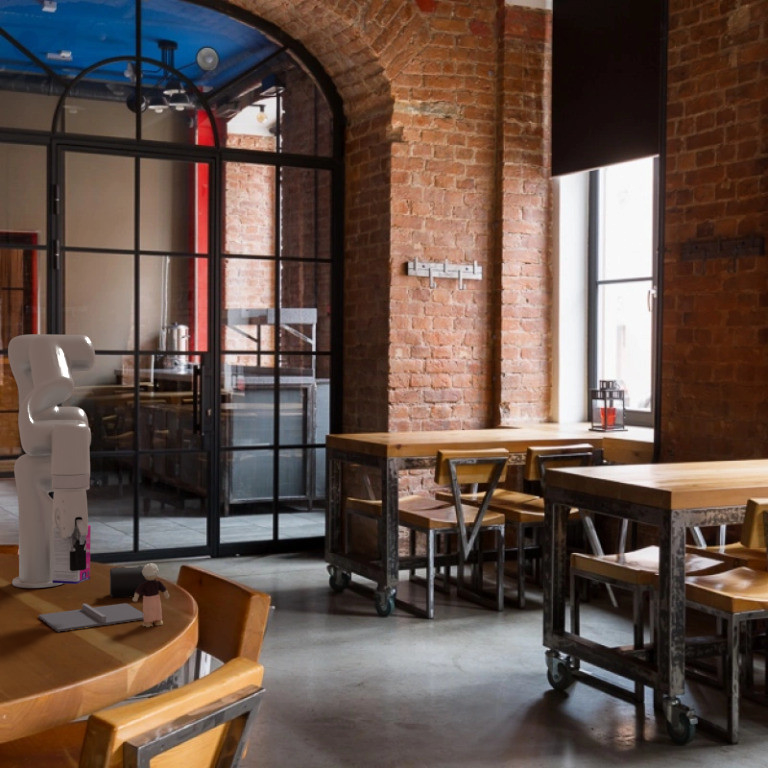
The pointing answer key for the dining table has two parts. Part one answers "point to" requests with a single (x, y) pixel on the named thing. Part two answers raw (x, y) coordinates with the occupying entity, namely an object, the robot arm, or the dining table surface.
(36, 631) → the dining table surface
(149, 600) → the grandmother figurine
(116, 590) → the end cap
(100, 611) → the mat
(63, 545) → the supplement box
